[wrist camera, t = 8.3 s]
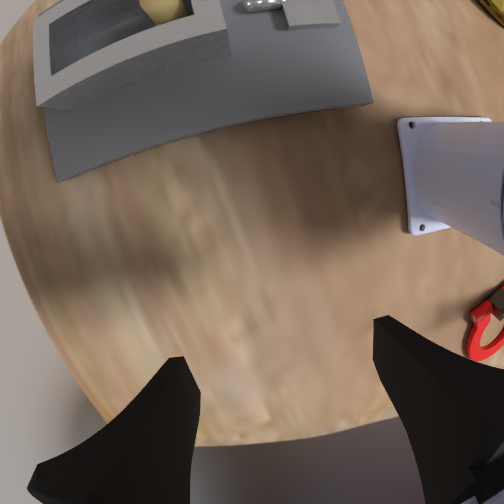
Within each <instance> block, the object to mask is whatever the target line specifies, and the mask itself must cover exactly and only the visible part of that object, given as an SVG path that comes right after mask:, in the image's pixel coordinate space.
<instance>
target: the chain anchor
mask: <svg viewBox="0 0 504 504" xmlns="http://www.w3.org/2000/svg"><path fill="white" fill-rule="evenodd" d="M243 7H244V9H245V10H247V11H249V12H256V11H263V10H271V9H281V12H282V15H283V18H284V21H285V24H286V28H287V31H293V30H304V29H318V28H337V27H338V26H339V25H340V24H341V22H340V19H339V16H338V13H337V10H336V8H335V5H334V2H333V0H244V2H243Z"/></svg>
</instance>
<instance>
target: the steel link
mask: <svg viewBox="0 0 504 504" xmlns="http://www.w3.org/2000/svg"><path fill="white" fill-rule="evenodd" d="M182 1H184V0H182ZM191 3H192V7H193V11H194V15H191V16H188V17H184V18H181V19H177V20H174V21H171V22H168V23H165V24H162V25H159V26H156V27H153V28H150V29H147V30H145V31H142V32H139V33H137V34H134V35H132V36H129V37H127V38H125V39H122V40H120V41H118V42H115V43H113V44H111V45H109V46H106V47H104V48H102V49H100V50H98V51H96V52H94V53H92V54H90V55H88V56H86V57H84V50H83V41H84V40H86V39H88V38H90V37H92V36H94V35H96V34H98V33H100V32H102V31H104V30H106V29H108V28H111V27H113V26H115V25H117V24H120V23H122V22H124V21H127V20H129V19H132V18H134V17H137V16H139V15H142V14H144V13H146V12H145V11H144V10H143V8H142V7H141V6H140V3H139V0H64V1H62V2H60V3H59V4H57V5H56V6H54V7H52V8H51V9H49V10H48V11H46V12H45V13H43V14H42V15H40V16H39V17H38V18H36V19H35V20H33V68H34V84H35V95H36V104H37V107H47V108H56V109H64V110H72V111H76V110H78V109H80V108H82V107H84V106H86V105H88V104H90V103H92V102H95V101H97V100H99V99H101V98H103V97H106V96H108V95H110V94H112V93H115V92H117V91H119V90H122V89H124V88H127V87H129V86H132V85H134V84H137V83H140V82H142V81H145V80H148V79H151V78H153V77H156V76H159V75H162V74H165V73H168V72H171V71H175V70H178V69H181V68H185V67H188V66H192V65H195V64H199V63H203V62H206V61H210V60H214V59H219V58H223V57H227V56H232V53H231V48H230V42H229V37H228V32H227V28H226V24H225V20H224V16H223V12H222V8H221V5H220V1H219V0H191Z"/></svg>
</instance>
